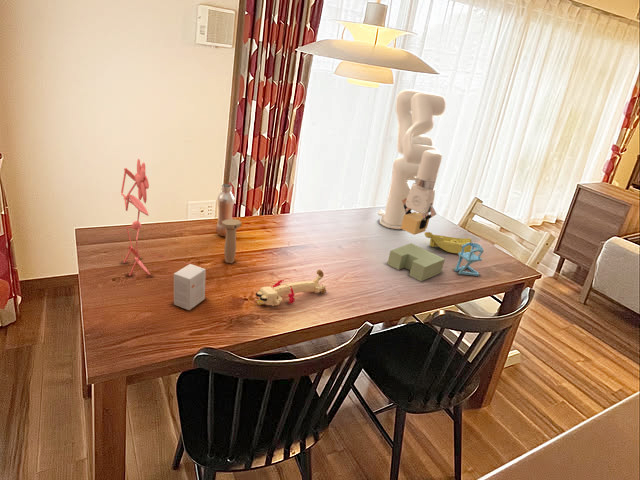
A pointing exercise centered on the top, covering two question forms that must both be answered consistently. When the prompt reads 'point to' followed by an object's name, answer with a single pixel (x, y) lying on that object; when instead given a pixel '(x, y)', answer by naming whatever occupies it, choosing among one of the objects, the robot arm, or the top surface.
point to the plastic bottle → (224, 207)
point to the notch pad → (416, 261)
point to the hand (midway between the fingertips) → (414, 224)
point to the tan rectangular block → (413, 223)
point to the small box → (189, 286)
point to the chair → (469, 259)
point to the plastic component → (449, 243)
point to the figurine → (137, 206)
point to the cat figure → (288, 290)
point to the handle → (230, 239)
